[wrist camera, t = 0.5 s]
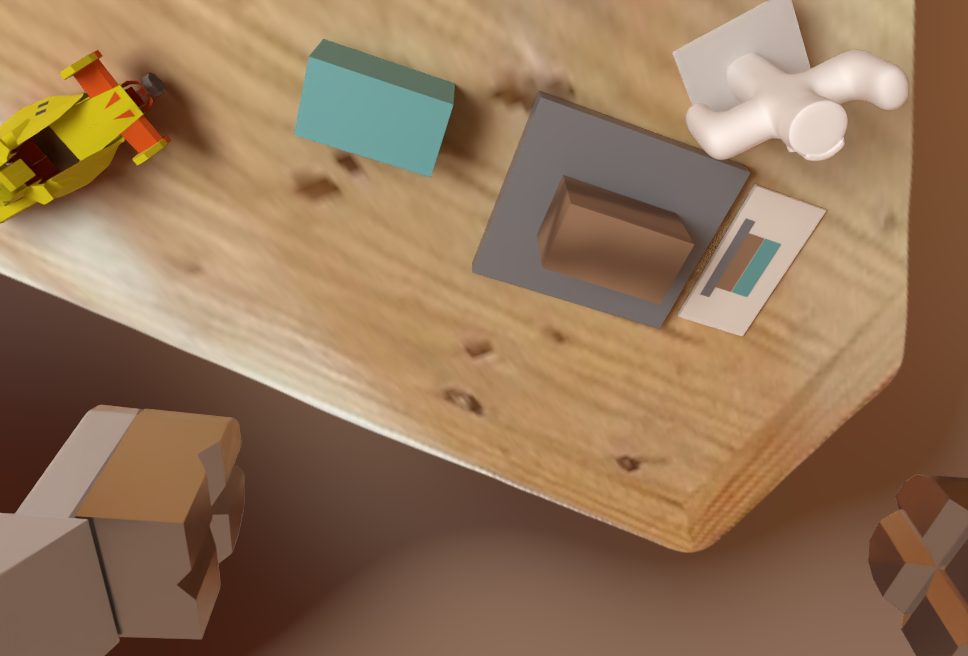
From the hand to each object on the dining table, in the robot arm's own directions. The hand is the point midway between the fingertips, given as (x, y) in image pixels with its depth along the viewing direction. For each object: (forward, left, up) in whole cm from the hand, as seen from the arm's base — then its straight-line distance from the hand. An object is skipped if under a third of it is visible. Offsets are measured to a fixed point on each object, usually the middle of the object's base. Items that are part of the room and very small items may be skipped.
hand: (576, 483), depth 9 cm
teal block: (+9, -5, -43) cm, 44 cm away
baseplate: (+12, +13, -43) cm, 46 cm away
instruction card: (+12, +26, -43) cm, 51 cm away
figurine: (-1, +16, -43) cm, 46 cm away
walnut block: (+12, +13, -41) cm, 45 cm away
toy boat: (+19, -25, -43) cm, 53 cm away
